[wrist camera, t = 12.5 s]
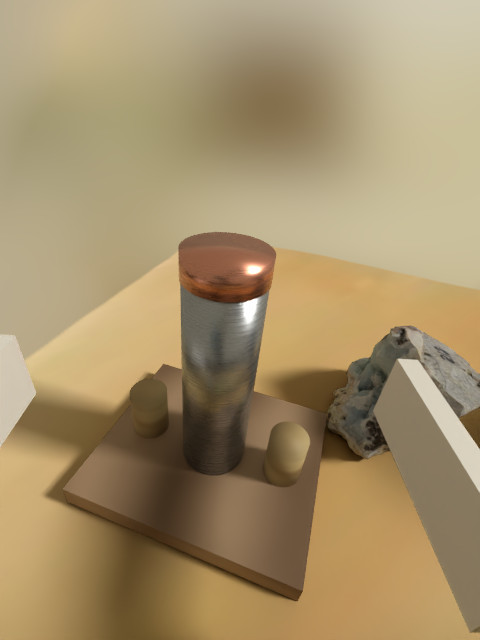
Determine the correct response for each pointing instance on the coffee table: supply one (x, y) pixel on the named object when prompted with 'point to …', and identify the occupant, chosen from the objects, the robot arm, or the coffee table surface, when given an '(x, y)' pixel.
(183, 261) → the pin
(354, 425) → the mineral specimen
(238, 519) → the peg rack
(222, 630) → the coffee table surface
